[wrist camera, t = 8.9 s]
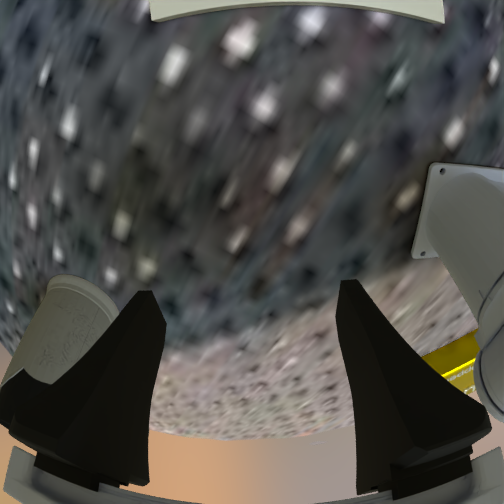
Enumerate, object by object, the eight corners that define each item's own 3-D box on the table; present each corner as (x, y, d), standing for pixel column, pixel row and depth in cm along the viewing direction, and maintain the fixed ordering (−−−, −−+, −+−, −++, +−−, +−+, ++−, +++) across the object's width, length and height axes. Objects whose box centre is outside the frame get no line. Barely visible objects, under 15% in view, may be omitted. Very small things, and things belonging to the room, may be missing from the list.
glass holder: (49, 259, 23) (-27, 399, 11) (182, 325, 27) (155, 481, 15) (46, 309, 27) (-4, 423, 15) (155, 361, 32) (130, 482, 20)
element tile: (500, 311, 27) (515, 339, 24) (490, 357, 35) (500, 379, 31) (404, 361, 33) (413, 392, 29) (415, 394, 40) (421, 418, 36)
